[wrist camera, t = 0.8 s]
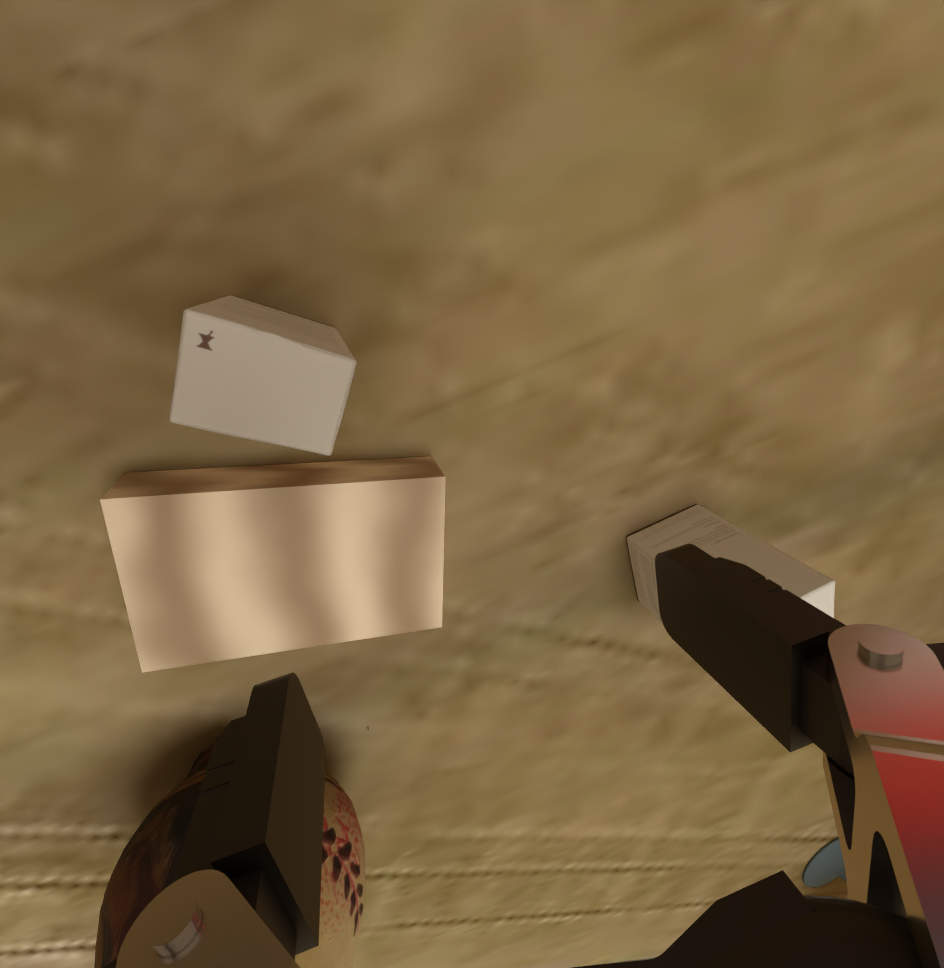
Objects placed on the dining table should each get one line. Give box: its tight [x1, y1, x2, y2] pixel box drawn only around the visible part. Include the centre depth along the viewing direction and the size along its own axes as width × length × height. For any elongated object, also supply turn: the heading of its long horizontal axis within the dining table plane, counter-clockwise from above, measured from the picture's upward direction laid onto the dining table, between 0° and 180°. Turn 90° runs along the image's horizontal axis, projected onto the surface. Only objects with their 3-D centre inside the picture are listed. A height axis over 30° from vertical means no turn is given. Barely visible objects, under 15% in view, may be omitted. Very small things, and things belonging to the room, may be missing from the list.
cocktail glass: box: [803, 838, 847, 887], centre depth 65 cm, size 18×18×25 cm
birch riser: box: [100, 456, 445, 672], centre depth 32 cm, size 18×11×4 cm, turn 88°
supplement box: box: [627, 504, 835, 624], centre depth 38 cm, size 7×7×13 cm
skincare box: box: [169, 295, 357, 456], centre depth 24 cm, size 6×4×12 cm
